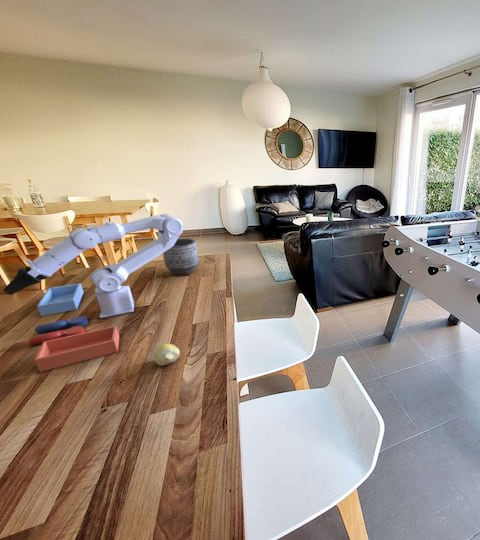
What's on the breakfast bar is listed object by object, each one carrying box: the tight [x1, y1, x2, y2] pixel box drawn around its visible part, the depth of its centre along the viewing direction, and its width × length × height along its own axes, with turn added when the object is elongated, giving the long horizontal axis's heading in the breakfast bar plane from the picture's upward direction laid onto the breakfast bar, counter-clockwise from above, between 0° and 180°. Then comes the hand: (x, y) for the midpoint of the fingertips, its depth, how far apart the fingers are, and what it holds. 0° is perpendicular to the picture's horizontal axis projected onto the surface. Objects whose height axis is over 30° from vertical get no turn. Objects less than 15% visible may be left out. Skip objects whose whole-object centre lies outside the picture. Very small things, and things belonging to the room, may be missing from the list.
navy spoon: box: [34, 315, 89, 334], centre depth 94 cm, size 12×4×3 cm, turn 125°
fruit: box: [153, 343, 181, 366], centre depth 82 cm, size 6×6×10 cm
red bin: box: [34, 325, 120, 373], centre depth 83 cm, size 16×9×4 cm, turn 125°
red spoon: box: [27, 326, 86, 346], centre depth 89 cm, size 12×4×3 cm, turn 125°
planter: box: [162, 237, 200, 276], centre depth 138 cm, size 14×14×15 cm
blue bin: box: [36, 283, 84, 317], centre depth 108 cm, size 16×9×4 cm, turn 35°
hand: (10, 290), depth 84 cm, fingers open, 7 cm apart
